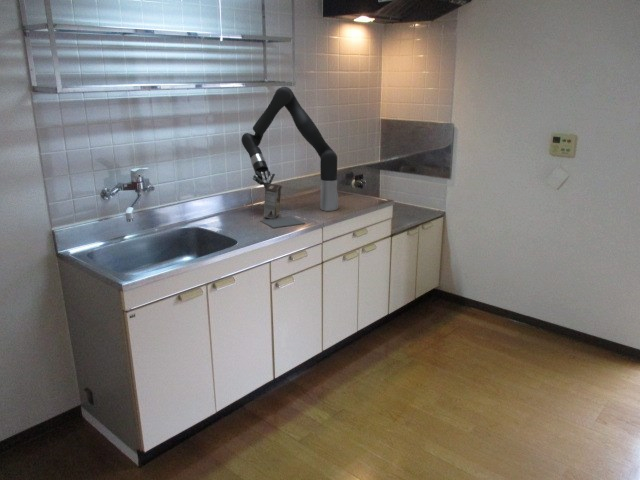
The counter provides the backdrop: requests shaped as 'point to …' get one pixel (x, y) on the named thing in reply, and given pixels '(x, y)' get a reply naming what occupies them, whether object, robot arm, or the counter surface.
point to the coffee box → (272, 201)
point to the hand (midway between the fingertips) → (268, 189)
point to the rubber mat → (282, 222)
